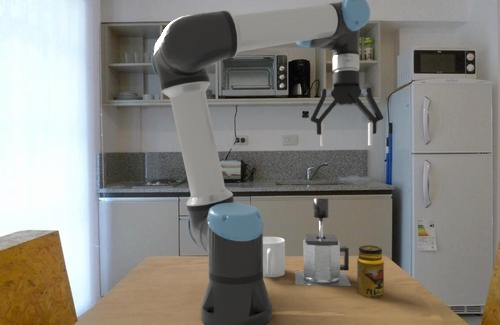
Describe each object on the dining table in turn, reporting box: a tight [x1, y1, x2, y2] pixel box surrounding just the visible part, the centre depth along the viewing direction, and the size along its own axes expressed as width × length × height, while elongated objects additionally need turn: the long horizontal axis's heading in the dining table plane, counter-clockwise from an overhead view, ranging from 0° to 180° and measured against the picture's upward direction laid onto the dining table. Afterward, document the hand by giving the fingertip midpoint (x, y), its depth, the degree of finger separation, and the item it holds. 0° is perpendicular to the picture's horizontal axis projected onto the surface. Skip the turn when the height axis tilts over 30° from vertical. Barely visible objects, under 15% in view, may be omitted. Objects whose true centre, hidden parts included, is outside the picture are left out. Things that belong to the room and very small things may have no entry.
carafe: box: [302, 233, 350, 284], centre depth 100 cm, size 12×10×11 cm
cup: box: [263, 236, 286, 278], centre depth 103 cm, size 8×12×10 cm
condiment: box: [356, 244, 385, 299], centre depth 89 cm, size 7×8×12 cm
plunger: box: [312, 197, 330, 239], centre depth 100 cm, size 7×7×19 cm
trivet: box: [294, 270, 352, 287], centre depth 100 cm, size 14×11×1 cm
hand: (346, 146), depth 106 cm, fingers open, 13 cm apart
